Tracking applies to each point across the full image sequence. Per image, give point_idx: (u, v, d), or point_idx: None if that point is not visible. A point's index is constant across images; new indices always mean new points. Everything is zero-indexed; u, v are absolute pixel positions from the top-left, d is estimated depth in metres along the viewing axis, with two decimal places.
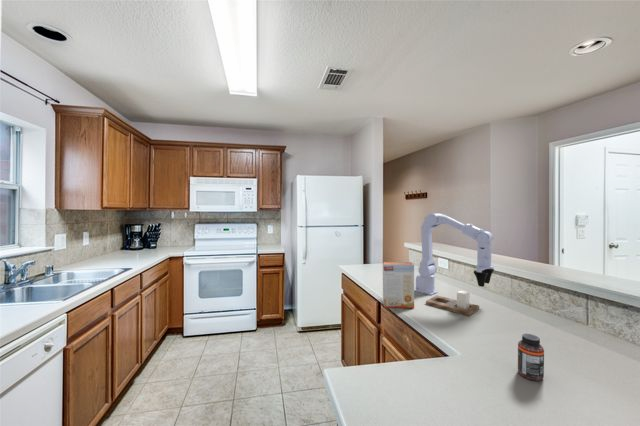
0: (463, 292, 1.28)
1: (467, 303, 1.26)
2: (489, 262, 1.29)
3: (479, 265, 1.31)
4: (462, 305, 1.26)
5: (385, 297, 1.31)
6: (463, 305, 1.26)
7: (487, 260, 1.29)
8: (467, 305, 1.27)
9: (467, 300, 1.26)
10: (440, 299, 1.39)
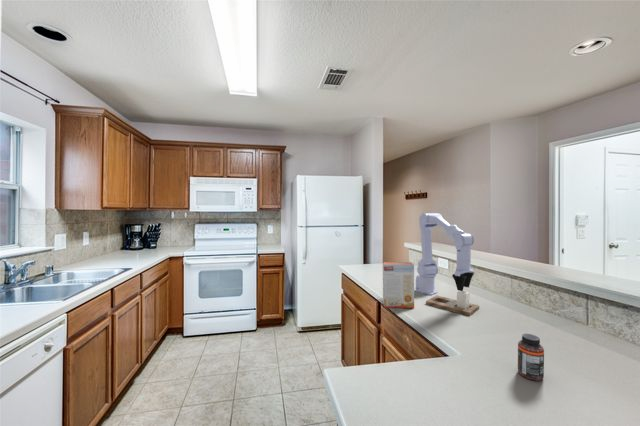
0: (463, 292, 1.28)
1: (467, 303, 1.26)
2: (468, 265, 1.25)
3: (458, 268, 1.27)
4: (462, 305, 1.26)
5: (385, 297, 1.31)
6: (463, 305, 1.26)
7: (466, 263, 1.25)
8: (467, 305, 1.27)
9: (467, 300, 1.26)
10: (440, 299, 1.39)
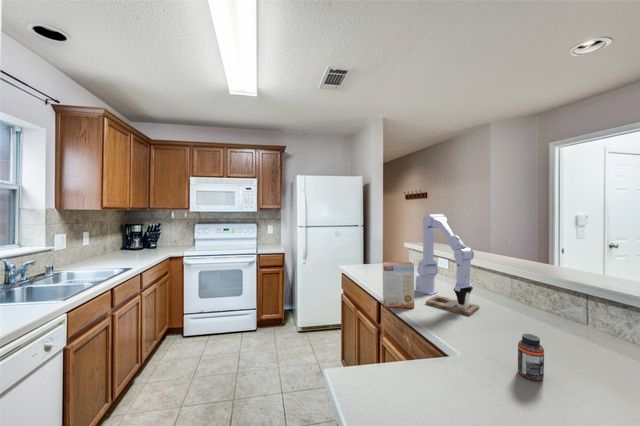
0: None
1: (467, 303, 1.26)
2: (468, 280, 1.25)
3: (458, 283, 1.27)
4: (462, 305, 1.26)
5: (385, 297, 1.31)
6: (463, 305, 1.26)
7: (466, 278, 1.25)
8: (467, 305, 1.27)
9: (467, 300, 1.26)
10: (440, 299, 1.39)
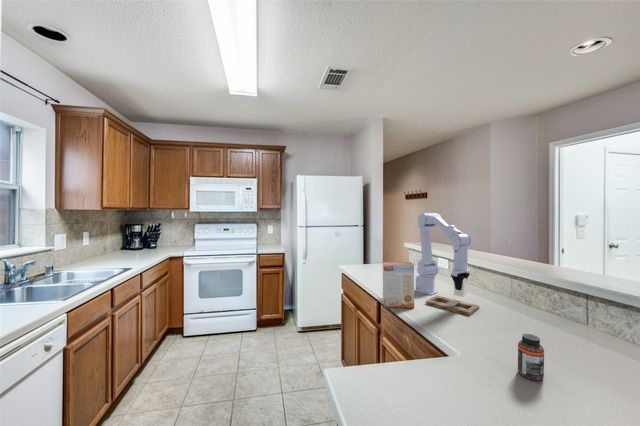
0: None
1: (464, 288, 1.27)
2: (465, 266, 1.26)
3: (455, 269, 1.28)
4: (459, 290, 1.27)
5: (385, 297, 1.31)
6: (460, 291, 1.27)
7: (463, 263, 1.26)
8: (464, 290, 1.27)
9: (464, 285, 1.27)
10: (440, 299, 1.39)
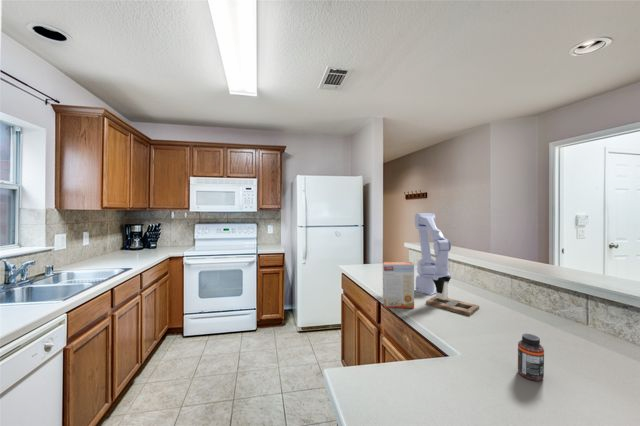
0: None
1: (445, 292, 1.34)
2: (446, 270, 1.32)
3: (436, 273, 1.34)
4: (441, 293, 1.34)
5: (385, 297, 1.31)
6: (441, 294, 1.33)
7: (444, 268, 1.32)
8: (445, 294, 1.34)
9: (445, 289, 1.34)
10: (440, 299, 1.39)
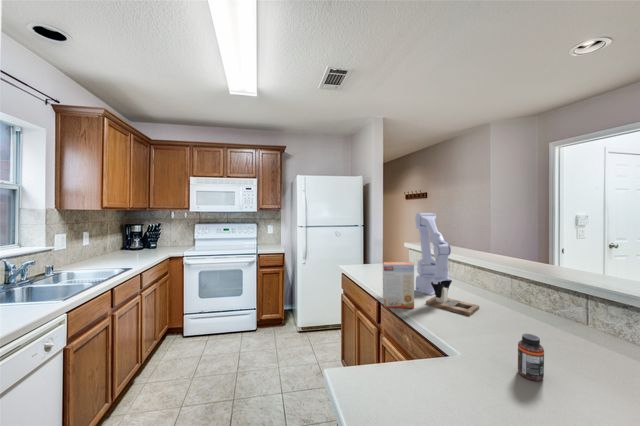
0: None
1: (445, 298, 1.34)
2: (446, 274, 1.32)
3: (436, 277, 1.34)
4: (441, 299, 1.34)
5: (385, 297, 1.31)
6: (441, 300, 1.33)
7: (444, 272, 1.32)
8: (445, 300, 1.34)
9: (445, 295, 1.34)
10: None
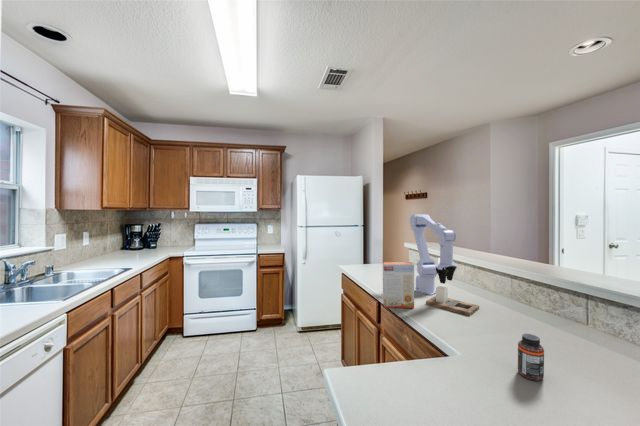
0: (442, 287, 1.35)
1: (445, 298, 1.34)
2: (450, 260, 1.34)
3: (441, 263, 1.36)
4: (441, 299, 1.34)
5: (385, 297, 1.31)
6: (441, 300, 1.33)
7: (448, 258, 1.34)
8: (445, 300, 1.34)
9: (445, 295, 1.34)
10: None
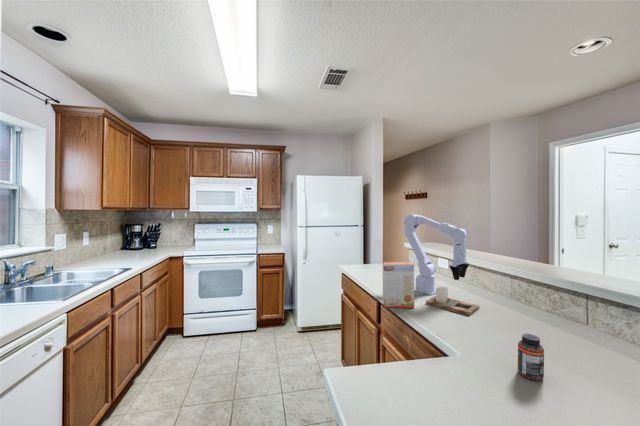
0: (442, 287, 1.35)
1: (445, 298, 1.34)
2: (464, 257, 1.40)
3: (455, 260, 1.41)
4: (441, 299, 1.34)
5: (385, 297, 1.31)
6: (441, 300, 1.33)
7: (462, 255, 1.39)
8: (445, 300, 1.34)
9: (445, 295, 1.34)
10: None
